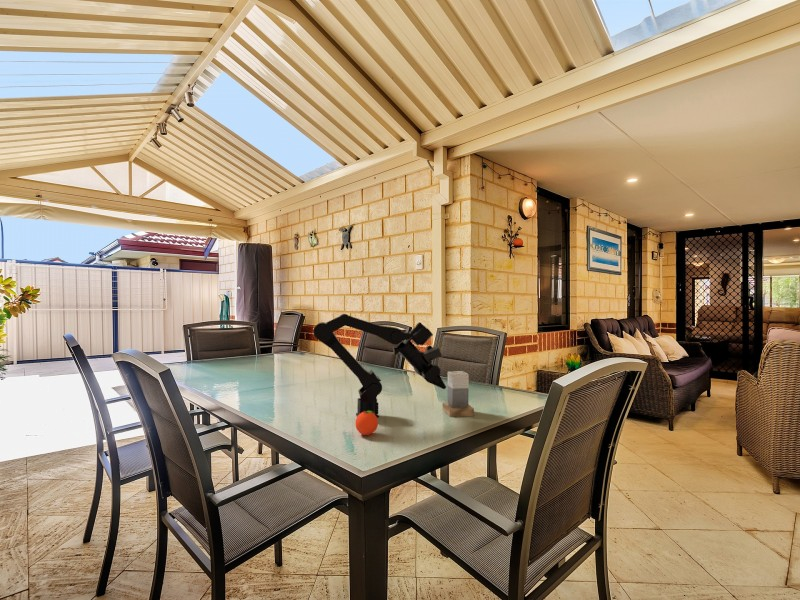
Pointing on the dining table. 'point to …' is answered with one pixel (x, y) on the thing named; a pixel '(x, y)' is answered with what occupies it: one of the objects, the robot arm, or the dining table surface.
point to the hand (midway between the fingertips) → (441, 385)
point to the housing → (458, 389)
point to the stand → (458, 411)
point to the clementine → (366, 423)
